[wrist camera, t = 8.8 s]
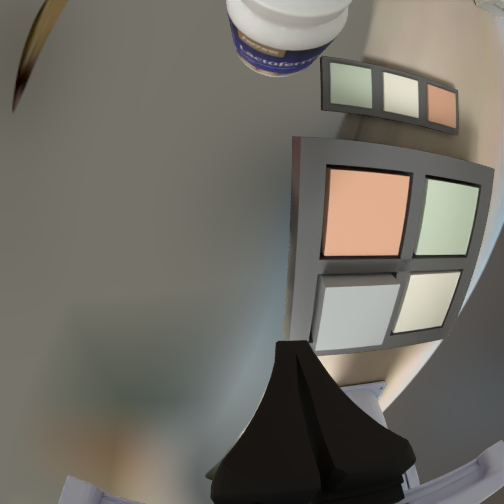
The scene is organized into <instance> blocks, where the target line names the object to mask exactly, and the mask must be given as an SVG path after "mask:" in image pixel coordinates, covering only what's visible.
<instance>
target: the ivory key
mask: <svg viewBox="0 0 504 504" xmlns="http://www.w3.org/2000/svg"><path fill="white" fill-rule="evenodd" d="M459 276H460V271H458V270H457V269H453V270H433V271H409V273H408V276H407V280H406V284H405V288H404V291H403V295H402V298H401V302H400V305H399V309H398V312H397V315H396V318H395V321H394V324H393V327H392V331H393V333H397V332H404V331H411V330H418V329H424V328H430V327H436V326H441V325H442V323H443V321H444V318H445V316H446V313H447V310H448V308H449V305H450V302H451V300H452V297H453V294H454V291H455V288H456V285H457V282H458V279H459Z"/></svg>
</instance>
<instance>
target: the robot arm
mask: <svg viewBox="0 0 504 504" xmlns="http://www.w3.org/2000/svg"><path fill="white" fill-rule="evenodd" d="M385 386H386V382H385V381H380V382H374V383H368V384H361V385H354V386H346V387H339V386H338V385H337V383H336V382H335V381H334V380H333V378H332V377H331V376H330V375H329V373H328V372H327V370H326V369H325V368H324V366H323V365H322V363H321V362H320V360H319V359H318V357H317V356H316V354H315V353H314V351H313V349H312V347H311V346H310V344H309V342H308V341H307V340H293V341H278V342H276V349H275V363H274V367H273V371H272V374H271V378H270V381H269V383H268V386H267V389H266V392H265V394H264V396H263V399H262V401H261V403H260V405H259V407H258V409H257V411H256V413H255V415H254V417H253V418H252V420H251V422H250V424H249V425H248V427H247V428H246V430H245V431H244V433H243V434H242V436H241V437H240V439H239V440H238V442H237V443H236V444H235V446H234V447H233V448H232V449H231V451H230V452H229V453H228V454H227V455H226V457H225V458H224V459H223V460H222V462H221V464H220V466H219V468H218V470H217V472H216V474H215V476H214V478H213V481H212V485H211V499H212V501H213V502H214V504H479V503H481V502H482V501H484V500H485V499H486V498H488V497H489V496H490V495H492V494H493V493H495V492H496V491H497V490H499V489H500V488H501V487H503V486H504V443H503V441H502V440H500V441H499V442H497V443H496V444H494V445H493V446H491V447H489V448H488V449H486V450H485V451H484V452H483V453H482V454H480V455H479V456H478V457H477V458H476V459H475V460H473V461H471V462H469V463H467V464H465V465H464V466H462V467H460V468H458V469H456V470H454V471H452V472H450V473H448V474H446V475H443V476H441V477H439V478H437V479H434V480H432V481H430V482H427V483H425V484H422V485H420V483H419V478H418V475H417V471H416V468H415V465H414V463H415V461H416V457H415V454H414V452H413V449H412V447H411V445H410V443H409V441H408V440H407V439H405V438H403V437H401V436H399V435H397V434H395V433H394V432H392V431H390V430H388V428H387V425H386V422H385V419H384V416H383V414H382V411H381V408H380V405H379V402H378V400H379V398H380V396H381V394H382V392H383V390H384V388H385ZM58 504H144V503H139V502H136V501H132V500H129V499H125V498H122V497H118V496H115V495H112V494H109V493H106V492H103V491H102V490H101V489H100V488H98V487H97V486H95V485H93V484H91V483H88V482H86V481H83V480H81V479H78V478H75V477H73V476H71V475H68V476H67V479H66V482H65V485H64V488H63V491H62V494H61V497H60V500H59V503H58Z"/></svg>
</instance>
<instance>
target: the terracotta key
mask: <svg viewBox="0 0 504 504" xmlns="http://www.w3.org/2000/svg"><path fill="white" fill-rule="evenodd" d="M409 178H410V177H409V176H406V175H403V174H400V173H397V172H395V171H392V170H387V169H378V168H368V167H357V166H344V165H329V164H326V177H325V196H324V211H323V224H322V236H321V247H320V249H321V251H322V253H323V254H324V256H363V255H398V252H399V247H400V241H401V236H402V230H403V224H404V218H405V211H406V204H407V196H408V188H409Z"/></svg>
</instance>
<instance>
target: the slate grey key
mask: <svg viewBox="0 0 504 504" xmlns="http://www.w3.org/2000/svg"><path fill="white" fill-rule="evenodd" d="M399 287H400V283H399V282H398V281H397V280H396V279H395V277H394V276H393V275H392V274H391V273H390V272H381V273H345V274H318V276H317V284H316V292H315V300H314V308H313V315H312V322H311V329H310V331H311V335H312V339H313V343H314V347H315V351H319V350H333V349H345V348H355V347H365V346H373V345H382V342H383V340H384V337H385V334H386V331H387V328H388V325H389V321H390V318H391V315H392V312H393V308H394V305H395V302H396V298H397V295H398V291H399Z"/></svg>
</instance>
